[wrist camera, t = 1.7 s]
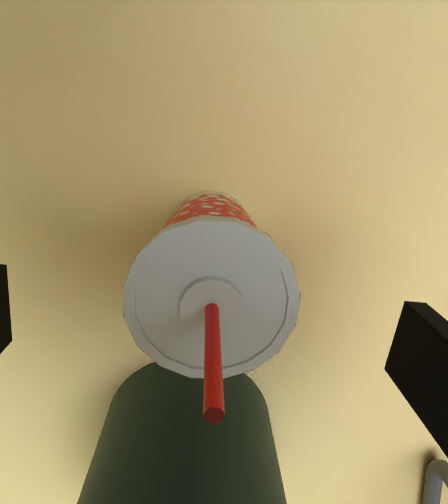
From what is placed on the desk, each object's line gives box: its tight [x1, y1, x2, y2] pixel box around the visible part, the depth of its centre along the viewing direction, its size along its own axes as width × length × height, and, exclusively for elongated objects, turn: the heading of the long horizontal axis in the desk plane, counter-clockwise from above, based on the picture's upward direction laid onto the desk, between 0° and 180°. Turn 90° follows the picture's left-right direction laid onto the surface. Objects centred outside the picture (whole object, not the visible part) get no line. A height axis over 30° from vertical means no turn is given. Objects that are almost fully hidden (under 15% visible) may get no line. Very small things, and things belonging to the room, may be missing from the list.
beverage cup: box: [123, 191, 301, 424], centre depth 15 cm, size 6×6×14 cm
